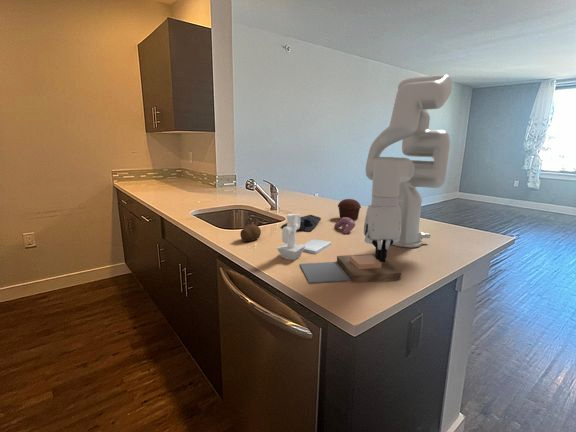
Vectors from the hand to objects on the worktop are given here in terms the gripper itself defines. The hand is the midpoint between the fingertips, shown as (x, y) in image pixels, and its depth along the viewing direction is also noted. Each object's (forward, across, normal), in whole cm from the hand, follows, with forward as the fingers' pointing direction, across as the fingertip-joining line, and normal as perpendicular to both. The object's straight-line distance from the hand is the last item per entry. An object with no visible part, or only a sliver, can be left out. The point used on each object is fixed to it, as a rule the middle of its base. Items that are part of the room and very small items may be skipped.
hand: (380, 260), depth 98 cm
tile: (+1, +5, 0) cm, 5 cm away
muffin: (+3, -13, -66) cm, 67 cm away
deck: (+3, +4, 0) cm, 5 cm away
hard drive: (+4, +15, -24) cm, 28 cm away
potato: (+3, +38, -37) cm, 53 cm away
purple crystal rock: (+3, -4, -44) cm, 45 cm away
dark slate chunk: (+3, +12, -56) cm, 58 cm away
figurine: (+3, +25, -15) cm, 29 cm away
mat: (+3, +18, 0) cm, 18 cm away
